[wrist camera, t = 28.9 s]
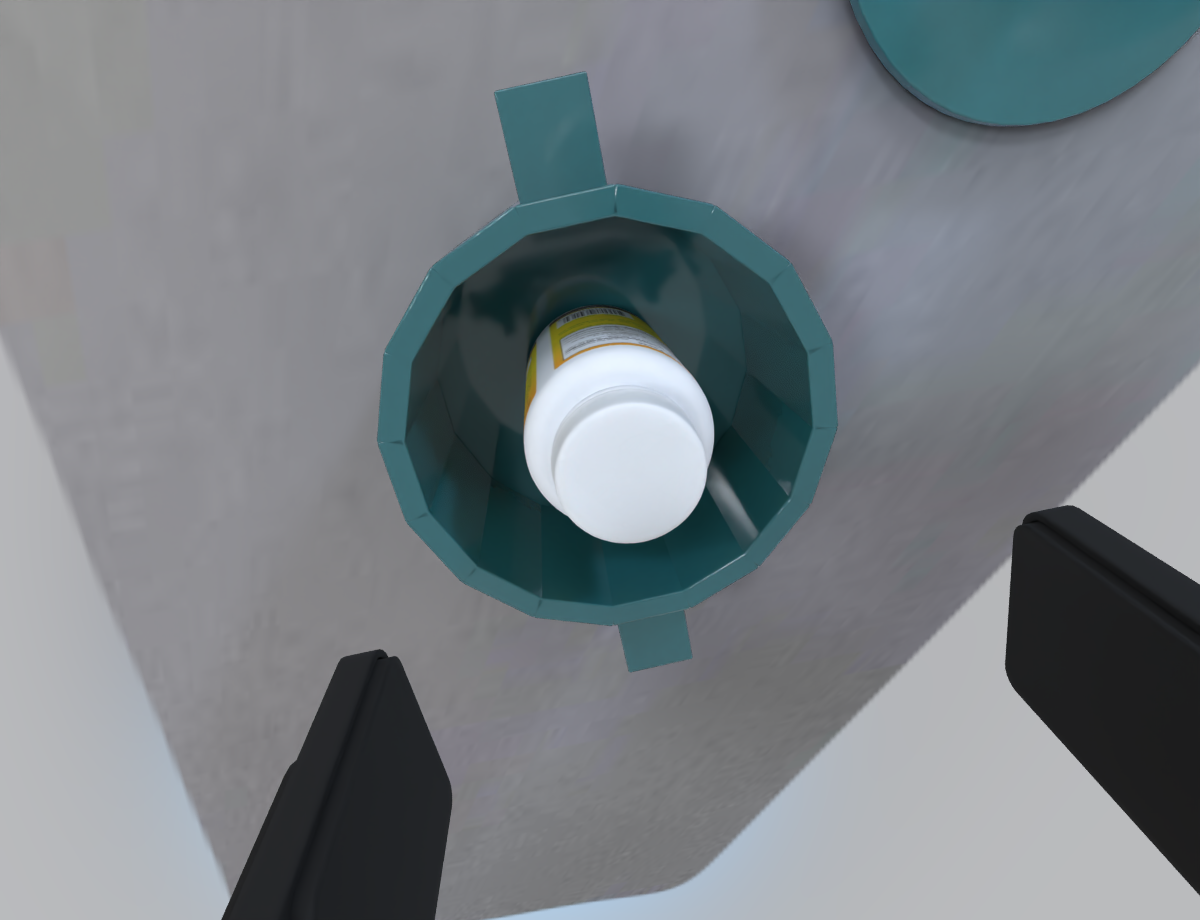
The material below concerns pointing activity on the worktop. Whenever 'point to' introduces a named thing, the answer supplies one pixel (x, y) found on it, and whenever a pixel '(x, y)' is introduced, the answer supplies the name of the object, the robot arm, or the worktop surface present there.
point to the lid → (1023, 52)
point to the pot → (681, 320)
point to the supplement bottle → (615, 425)
